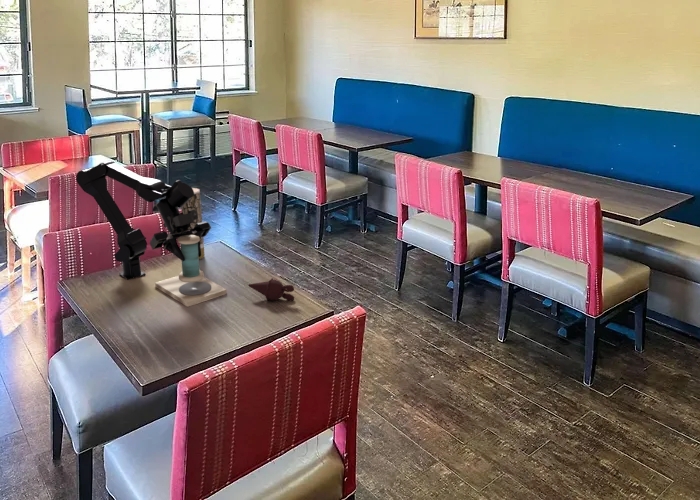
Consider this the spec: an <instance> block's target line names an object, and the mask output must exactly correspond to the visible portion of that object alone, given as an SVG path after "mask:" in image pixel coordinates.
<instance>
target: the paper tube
mask: <svg viewBox="0 0 700 500" xmlns="http://www.w3.org/2000/svg"><path fill="white" fill-rule="evenodd" d="M191 188H192V189H193V191H194V196H193V197H192V198H191V199H190V200H189V201H188V202H187V203H186V204H185V205H184V206H183V207H180V210H181V211H180V213H183V214H187V213H188V211H190V210H193V209H195V211H196V213H197V215H198V219H196V220H194V223H190V224H191V226H190V227H188V229H193V228H194V227H195V225H196V224H197V223H201V222H203V215H202V214H203V213H202V204H201V203H202V202H201V191H200V190H201V189H200V188H197V187H191ZM200 247H201V257H199V260H202V259H203V258H204V257H205V243H204V237H201V238H200Z"/></svg>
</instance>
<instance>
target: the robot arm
mask: <svg viewBox="0 0 700 500" xmlns="http://www.w3.org/2000/svg"><path fill="white" fill-rule="evenodd" d="M106 177H108V178H110V179H112V180H113V181H116V182H117V183H120V184H122V185H124V186H126V187H128V188H130V189H132V190H133V191H135V192H136V195H138V197H140V198H141V199H143V200H144V201H146V202H148V203H153V202H154V205H153V207H152V211H153V212H158V213H159V215H160V217H161V218H162V221H163V227H164V228H166V229H167V231H168V232H167V231H165V230H163V231H160V232H156V233H154V234H153V236H152V237H151V239H150V242H149V244H150V247H151V249H152V250H154V251H155V250H158V249H162V250H166V251H168V252H169V253H171V254H172V255H174V256H175V257H176V258H178V259H179V260H180V261H181V262H182V261H185V258H184V256H183V254H182V252H181V248H180V246H179V243H178V240H177V239H178V238H179V237H181V236H184V235H196V236H199V237H200V238H201V237H203V238H205V237H206V236H207V235H208V233H209V232H210V230H211V229H212V226H211V224H210V223H209V222H208V221H202V222H201V223H197V224H196V225H195V227H194V228H193V229H188V227H190V226H191V224H190V223H194V220H196V219H198V215H197V213H196V211H195V209H193V210H190V211H188V213H187V214H183V213H182V212H181V211H180V209H181V207H183V206H184V205H185V204H186V203H187V202H188V201H189V200H190V199H191V198H192V197H193V196H194V191H193V189H192V188H193V187H192V186H190V185H189V184H187V183H185V182H183V181H182V180H180V179H178V180H176V181H174V183H172V185H169V184H167V183H165V182H164V181H162V180H160V179H157V178H154V177H153V178H151V177H145V176H141V175H140V174H137V173H136V172H133V171H132V170H129V169H128V168H125V167H123V166H122V165H119V164H118V163H116V162H114V161H113V160H106V161H103V162H100V163H99V164H97V165H94V166H92V167H88V168H85V169H82V170H78V172H77V173H76V178H75V180H76V183H77V184H78V186H79V187H80V188H81V189H82V191H84V193H86V194H88V195H90V196H91V197H92V198H93V199H94V200H95V202H96V204H97V205H98V207H99V208H100V210H101V211H102V213H103V215H104V216H105V218H106V220H107V221H108V222H109V224H110V226H111V227H112V229H113V230H114V232H115V234H116V240H117V246H118V248H119V249H118V251H117V252H116V253H114V258H115V261H116V262H120V263H121V265H122V271H121V272H119V273H118V274H119V275H120V276H121V277H123V278H124V279H125V280H127V281H128V280H132V279H136V278H140V277H143V276H146V272H145V271H142V269H141V268H142V267H141V260H140V259H141V258H140V257H142V256H144V255H145V252H146V250H147V245H148V241H147V240H146V239H147V237H145V235H144V234H143V232H142V230H141V229H140V228H137V229H135V228H133V227H132V226H131V225H130V223H129V222H128V220H127V219H126V217H125V216H124V214H123V213H122V211H121V209H120V208H119V206H118V205H117V203H116V201H115V199H114V198H113V196H112V195H111V193H110V192H109V191H108V180H107V178H106ZM157 200H159V201H158V202H155V201H157ZM198 255H199V257H201V247H200V241H199V242H198Z"/></svg>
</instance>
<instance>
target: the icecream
mask: <svg viewBox="0 0 700 500" xmlns="http://www.w3.org/2000/svg"><path fill="white" fill-rule="evenodd" d="M248 287H249V288H251V289H252V290H253V291H256V292H258V293H260V294H261V295H263V296H264V297H265V298H266V300H267V301H269V300H270V301H277V300H279V299H280V298H283V299H285V300H286V301H290V300H291V302H293V301H295V296H294V295H293V294H291V293H292V292H294V290H295V287H294V285H293V284H286V285H285V284H283V283H282V282H281V281H279V280H277V279H274V278H271V279H270V280H269V281H262V282H255V283H249V284H248ZM292 300H293V301H292Z"/></svg>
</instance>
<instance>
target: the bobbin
mask: <svg viewBox="0 0 700 500" xmlns="http://www.w3.org/2000/svg"><path fill="white" fill-rule="evenodd" d="M176 240H177V244H179V245H180V246H179V248H180V250H181V252H182V254H183V256H184V258H185V261H182V260H181V269H182V270H181V272H179V273H178V276H179V280H180V281H182V282H186V283H192V282H198V281H200V280H202V279H203V278H204V277H205V275H204V271H203V270H202V269H200V259H199V255H198V242H199V241H200V237H199V236H196V235H184V236H181V237H179V238H178V239H176Z"/></svg>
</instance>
